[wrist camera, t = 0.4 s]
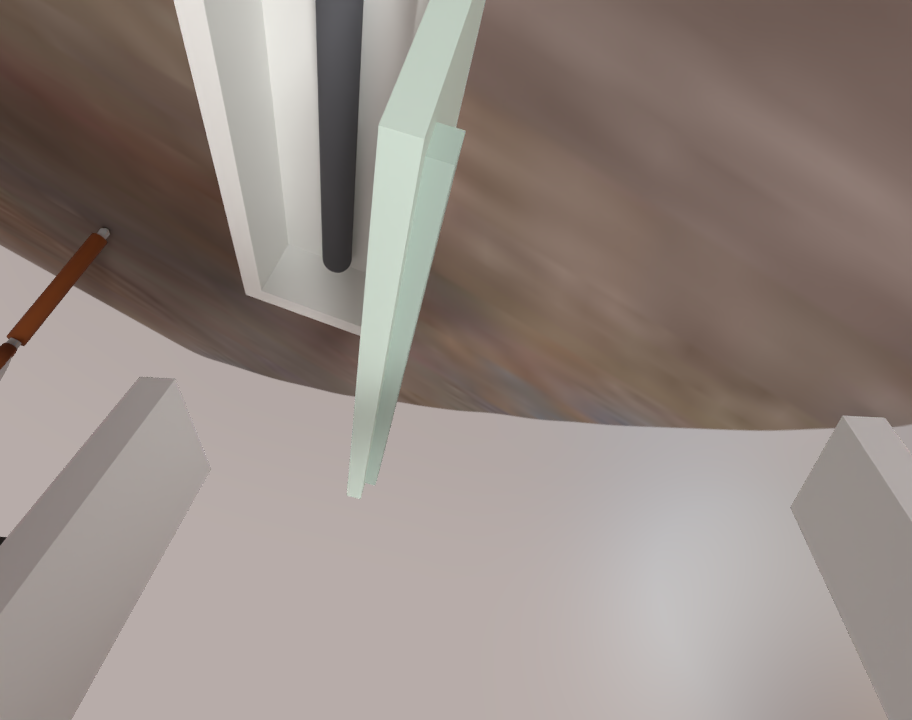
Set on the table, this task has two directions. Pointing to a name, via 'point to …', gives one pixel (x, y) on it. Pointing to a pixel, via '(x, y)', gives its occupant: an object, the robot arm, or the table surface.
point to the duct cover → (408, 216)
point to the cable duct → (289, 139)
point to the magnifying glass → (51, 296)
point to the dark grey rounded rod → (338, 123)
